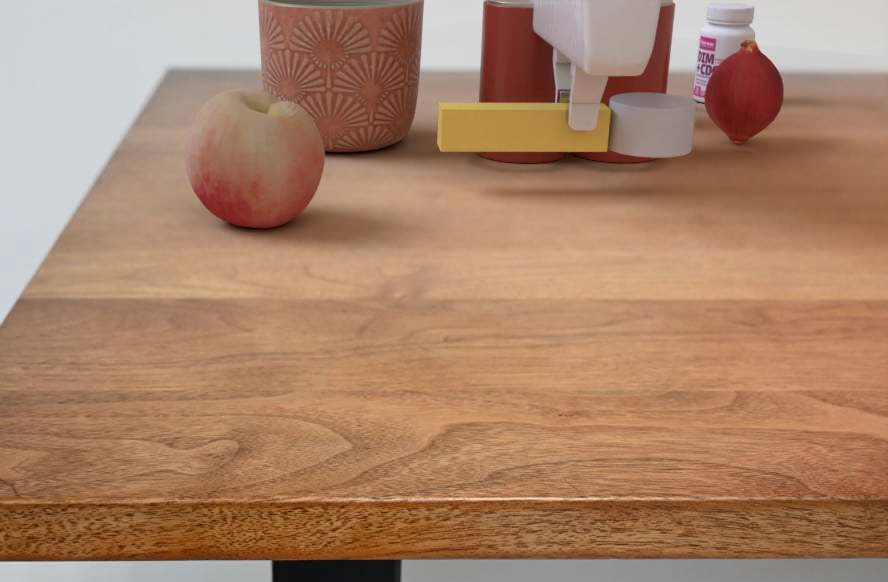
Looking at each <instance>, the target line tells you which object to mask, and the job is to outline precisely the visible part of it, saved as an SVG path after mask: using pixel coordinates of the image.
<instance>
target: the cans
mask: <svg viewBox="0 0 888 582" xmlns="http://www.w3.org/2000/svg"><path fill="white" fill-rule="evenodd" d="M533 10H534V8H533V3H532V2H530V1H529V0H483V3H482V20H481V21H482V24H481V26H482V27H481V45H480V47H481V48H480V65H479V67H480V68H479V69H480V70H479V89H478V90H479V91H478V103H555V96H556V86H555V77H554V68H553V49H554V47H553V46H551V45H550V44H549V43H548V42H546V41H545V40H544V39H543V38H541V37H540V36H539V35H538V34H536V33H535V32H534V30H533ZM675 12H676V3H675V2H674V0H661V6H660V12H659V18H658V24H657V30H656V36H655V41H654V46H653V50H652V54H651V56H650V59H649V62H648V64H647V66H646V68H645V70H644V72H643V73H642V74H641V75H638V76H608V81H607V83H606V86H605V89H604V92H603V95H602V98H601V101H600V103H604V104H605V105H606V106H607V107H608V108H609V101H610V98H611V97H612V96H614V95H618V94H623V93H638V92H646V93H664V94H667V91H668V81H669V71H670V63H671V54H672V53H671V51H672V43H673V33H674V31H673V30H674V23H675ZM571 153H572V154H573V155H575V156H577V157H579V158H582V159H586V160H591V161H597V162H601V163H602V162H603V163H604V162H605V163H617V164H630V163H631V164H632V163H633V164H634V163H644V162H649V161H653V160H656V159H657V158H649V157H637V156H630V155H625V154H620V153H617V152H614V151H611V150H609V149H608V148H607V152H571ZM476 154H478V155H479V156H480V157H483V158H485V159H488V160H491V161H496V162H502V163H512V164H543V163H549V162H554V161H558V160H561V159H563V158H564V157H565V155H566V152H476Z"/></svg>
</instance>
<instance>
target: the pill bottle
mask: <svg viewBox="0 0 888 582" xmlns="http://www.w3.org/2000/svg"><path fill="white" fill-rule="evenodd" d="M706 8H707V9H706V14H705V15H706V16H705V18H706V19H705V21H706V22H707V24H706V25H705V26H703V27H702V28H701V29H700V32H699V40H698V41H699V42H698V48H697V55H696V56H697V57H696V66H695V75H694V83H693V91H692V99H693V100H695V101H696V102H699V103H702V104H705V99H704V95H705V90H706V85H707V83H708V81H709V78H710V76H711V75H712V73H713V72H714V70H715V69H716V68H717V67H718V65H719V64H720V63H721V62H722V61H723V60H725V59H726V58H727V57H729V56H730V55H732V54H734V53H736V52H738V51H739V50H740V48H741V46H740V43H742V42H743V41H745V40H746V39H753V40H755V41H756V31H755V30H754V29H753V28H752V27H751V24H753V21H754V17H755V5H752V4H747V3H740V2H712V3H711V2H710V3H709V4H708V5H707V7H706Z"/></svg>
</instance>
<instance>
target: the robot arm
mask: <svg viewBox="0 0 888 582" xmlns="http://www.w3.org/2000/svg"><path fill="white" fill-rule="evenodd" d="M529 1H530V2H532V3H533V8H534V10H533V30H534V32H535V33H536V34H538V35H539V36H540V37H541V38H543V39H544V40H545V41H546V42H548V43H549V44H550V45H551V46H553V47H554V49H553V68H554V77H555V86H556V96H555V103H567V107H566V112H567V113H566V122H567V124H568V125H569V126H570V127H571V128H572V129H573V130H575V131H591V130H594V129H595V128H596V126H597V124H598V113H599V103H600V101H601V98H602V95H603V92H604V89H605V86H606V83H607V81H608V76H638V75H641V74H642V73H643V72H644V70H645V68H646V66H647V64H648V62H649V59H650V56H651V54H652V50H653V46H654V41H655V36H656V30H657V24H658V18H659V12H660V6H661V0H529Z"/></svg>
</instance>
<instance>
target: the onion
mask: <svg viewBox="0 0 888 582" xmlns="http://www.w3.org/2000/svg"><path fill="white" fill-rule="evenodd" d="M740 46H741V48H740V50H739V51H738V52H736V53H734V54H732V55H730V56H729V57H727V58H726V59H725V60H723V61H722V62H721V63H720V64H719V65H718V67H717V68H716V69H715V70H714V72H713V73H712V75H711V76H710V78H709V81H708V83H707V85H706V90H705V95H704V99H705V103H704V108H705V110H706V113H707V115H708V118H710V120H711V121H712V122H713V124H714V125H716V126H717V127H718V128H719V130H721V131H722V132H723V134H724V135H726V137H727V138H728V140H729V141H730V142H732V143H733V144H739V145H740V144H744V143H747V142H748V141H749V140H750V139H751V138H753V137H755V136H757V135H758V134H760V133H761V132H762V131H765V129H767V128H768V127H769V126H770V125H771V124H772V123H773V122H774V121H775V119H776V118H777V116H778V115H779V113H780V112H781V109H782V106H783V102H784V99H785V98H784V97H785V96H784V95H785V94H784V93H785V88H784V83H783V82H784V81H783V78H782V76H781V73H780V71H779V69H778V68H777V66H776V65H775V64H774V62H772V60H771V59H770V58H769V57H768V56H766V54H764V53H763V52H762V51H761V50H760V48H759V46H758V44H757V41H756V39H755V40H753V39H746V40H745V41H743V42H742V43H740Z"/></svg>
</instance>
